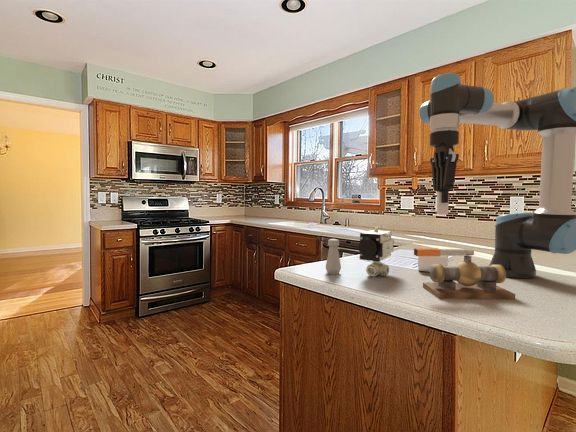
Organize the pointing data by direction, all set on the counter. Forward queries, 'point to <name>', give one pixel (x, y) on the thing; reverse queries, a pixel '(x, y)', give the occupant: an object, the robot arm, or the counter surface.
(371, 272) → the ball valve
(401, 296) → the counter surface
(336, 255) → the salt shaker
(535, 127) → the robot arm
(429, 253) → the lever
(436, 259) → the white rectangular block
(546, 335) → the counter surface
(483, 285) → the valve mount
